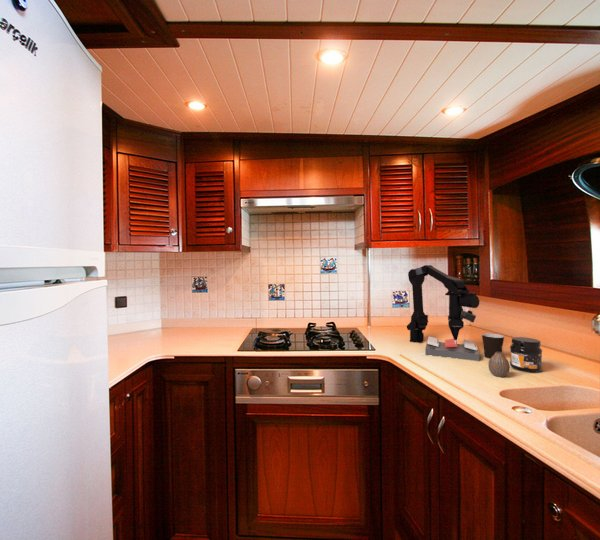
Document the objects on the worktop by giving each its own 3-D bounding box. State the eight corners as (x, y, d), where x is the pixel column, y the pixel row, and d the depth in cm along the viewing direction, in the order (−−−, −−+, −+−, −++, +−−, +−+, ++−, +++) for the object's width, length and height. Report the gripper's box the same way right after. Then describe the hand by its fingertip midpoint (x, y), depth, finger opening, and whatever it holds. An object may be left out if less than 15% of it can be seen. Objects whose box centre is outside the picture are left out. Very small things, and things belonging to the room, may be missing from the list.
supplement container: (509, 370, 126) (510, 340, 126) (510, 363, 135) (510, 335, 135) (542, 375, 120) (543, 344, 120) (540, 367, 129) (541, 338, 129)
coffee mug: (496, 361, 138) (496, 338, 137) (477, 356, 145) (477, 334, 145) (511, 357, 143) (512, 335, 143) (492, 352, 151) (493, 331, 150)
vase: (484, 372, 124) (484, 350, 123) (500, 372, 124) (501, 349, 124) (496, 379, 117) (496, 355, 117) (514, 378, 117) (514, 355, 117)
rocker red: (445, 347, 148) (445, 344, 148) (445, 342, 158) (445, 339, 158) (457, 346, 146) (456, 343, 146) (456, 341, 156) (456, 338, 156)
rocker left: (427, 343, 151) (427, 340, 151) (428, 338, 161) (428, 336, 161) (438, 346, 149) (438, 344, 149) (438, 341, 159) (439, 339, 159)
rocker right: (464, 347, 144) (465, 344, 144) (463, 341, 154) (463, 339, 154) (476, 350, 142) (477, 347, 142) (474, 344, 152) (475, 342, 152)
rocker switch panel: (425, 355, 147) (425, 348, 147) (427, 346, 162) (427, 340, 162) (479, 361, 138) (479, 353, 138) (475, 351, 153) (476, 345, 152)
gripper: (476, 309, 139) (476, 344, 139) (473, 304, 156) (472, 335, 156) (448, 307, 143) (448, 341, 144) (448, 302, 160) (447, 333, 161)
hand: (455, 337), depth 151 cm, fingers open, 9 cm apart
